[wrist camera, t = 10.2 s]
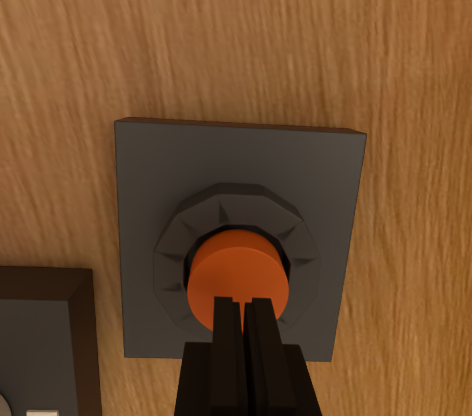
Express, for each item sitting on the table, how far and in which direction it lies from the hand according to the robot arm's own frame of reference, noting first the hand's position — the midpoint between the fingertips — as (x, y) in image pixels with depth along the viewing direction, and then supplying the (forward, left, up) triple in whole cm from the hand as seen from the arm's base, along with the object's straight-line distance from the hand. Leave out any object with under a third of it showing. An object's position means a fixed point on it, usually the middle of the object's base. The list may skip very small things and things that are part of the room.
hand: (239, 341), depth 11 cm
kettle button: (0, 0, -4) cm, 4 cm away
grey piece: (0, 0, -8) cm, 8 cm away
